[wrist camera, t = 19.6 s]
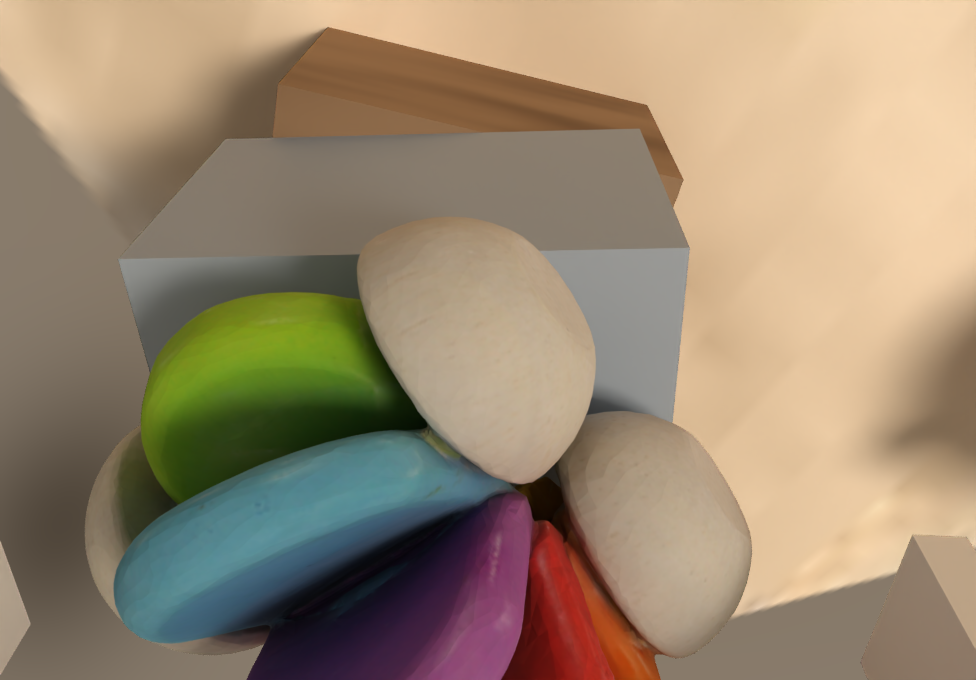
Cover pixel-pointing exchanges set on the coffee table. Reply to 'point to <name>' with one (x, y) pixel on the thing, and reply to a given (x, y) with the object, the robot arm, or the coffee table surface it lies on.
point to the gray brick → (420, 195)
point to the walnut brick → (441, 99)
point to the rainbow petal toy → (412, 484)
